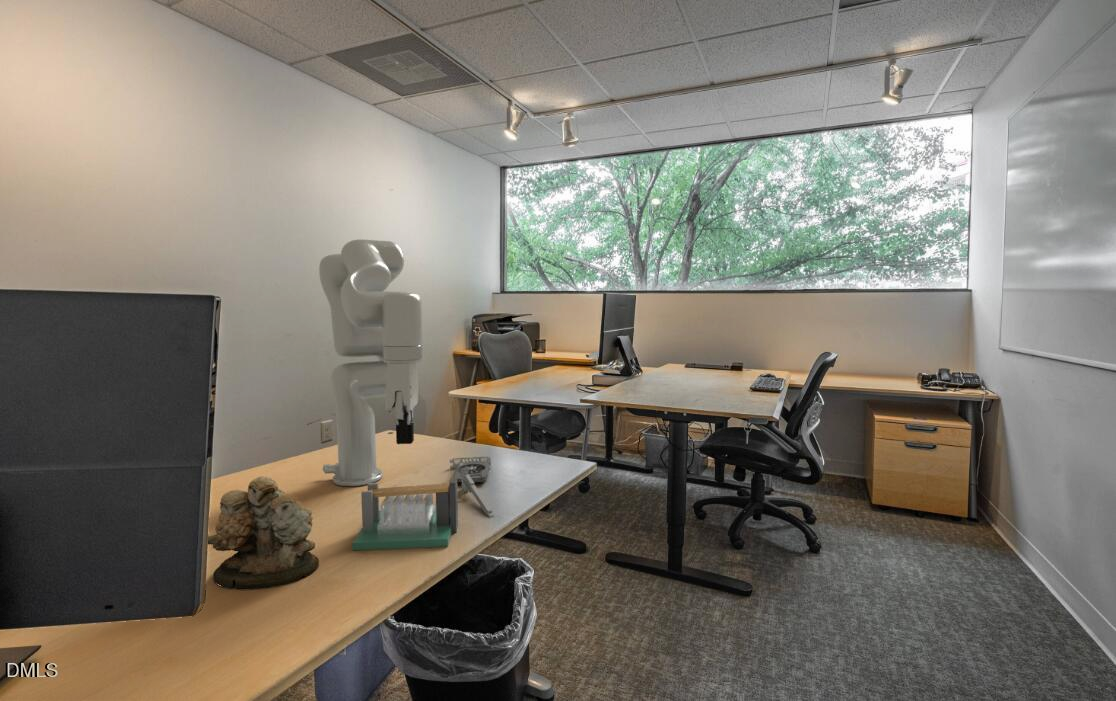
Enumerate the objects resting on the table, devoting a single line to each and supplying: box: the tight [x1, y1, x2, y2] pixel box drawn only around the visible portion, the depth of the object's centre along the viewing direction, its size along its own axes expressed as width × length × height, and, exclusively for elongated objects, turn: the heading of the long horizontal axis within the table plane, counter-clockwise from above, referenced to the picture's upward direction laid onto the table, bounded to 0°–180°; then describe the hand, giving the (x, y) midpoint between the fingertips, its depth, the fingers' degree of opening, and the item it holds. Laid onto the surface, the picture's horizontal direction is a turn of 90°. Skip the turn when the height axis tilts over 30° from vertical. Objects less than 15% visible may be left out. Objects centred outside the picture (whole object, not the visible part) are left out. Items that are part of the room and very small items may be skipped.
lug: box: [435, 476, 459, 534], centre depth 110 cm, size 4×4×10 cm
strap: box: [367, 482, 450, 498], centre depth 109 cm, size 17×3×1 cm, turn 95°
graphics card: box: [449, 456, 492, 483], centre depth 145 cm, size 17×4×12 cm
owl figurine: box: [207, 476, 320, 590], centre depth 92 cm, size 18×12×17 cm, turn 99°
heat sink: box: [377, 493, 436, 535], centre depth 110 cm, size 10×10×6 cm
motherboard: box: [351, 482, 452, 551], centre depth 109 cm, size 18×16×10 cm
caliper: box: [461, 467, 495, 518], centre depth 125 cm, size 20×1×6 cm, turn 28°
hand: (405, 442), depth 109 cm, fingers closed
